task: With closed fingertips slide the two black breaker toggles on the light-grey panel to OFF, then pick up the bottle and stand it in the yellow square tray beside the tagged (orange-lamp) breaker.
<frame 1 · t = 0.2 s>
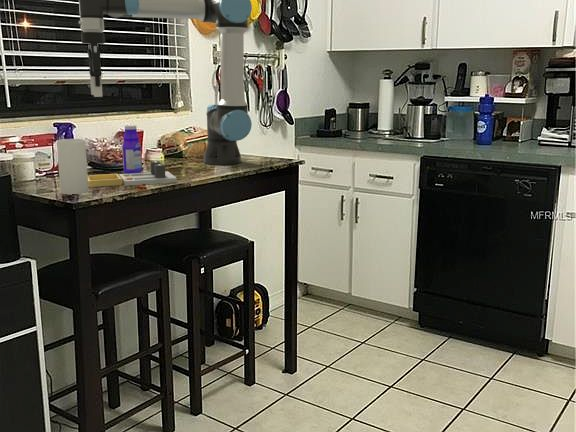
hand: (96, 95, 216), 28 cm above the table, fingers open, 13 cm apart
breaker board: (147, 180, 213), on the table
yellow square tray: (103, 183, 207), on the table
light grey upright block: (74, 192, 193), on the table
breaker 1: (155, 167, 216), point 4 cm above the table, slide at 0.0 cm
bottle: (133, 174, 225), on the table
breaker 2: (159, 170, 210), point 4 cm above the table, slide at 0.0 cm
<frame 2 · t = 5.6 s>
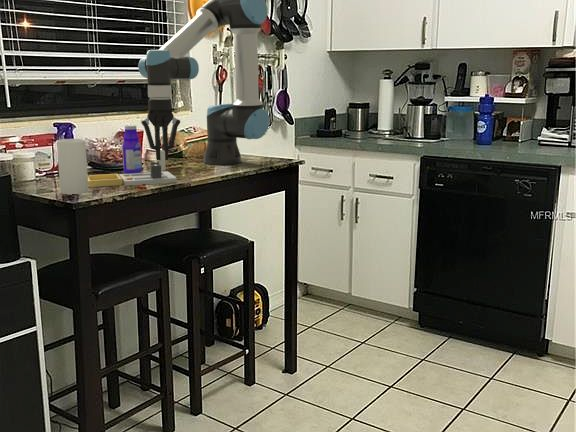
hand: (162, 169, 210), 4 cm above the table, fingers closed
breaker 2: (155, 171, 209), point 4 cm above the table, slide at 1.3 cm, touching gripper
everything else where it was.
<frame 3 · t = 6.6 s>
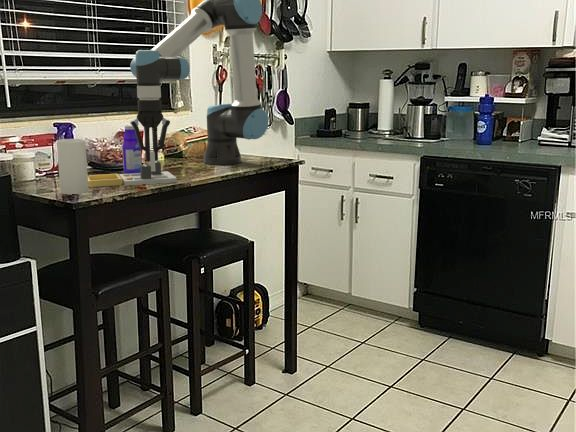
hand: (152, 170, 209), 4 cm above the table, fingers closed
breaker 2: (145, 171, 208), point 4 cm above the table, slide at 4.7 cm, touching gripper
everything else where it was.
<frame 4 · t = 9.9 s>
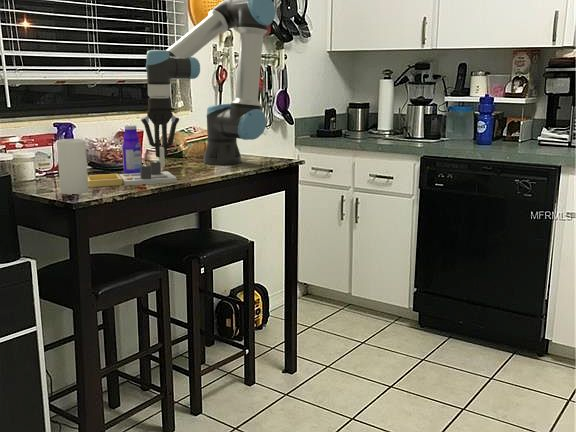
hand: (161, 166, 217), 4 cm above the table, fingers closed
breaker 1: (155, 167, 216), point 4 cm above the table, slide at 0.1 cm, touching gripper
breaker 2: (145, 171, 208), point 4 cm above the table, slide at 4.7 cm
everything else where it was.
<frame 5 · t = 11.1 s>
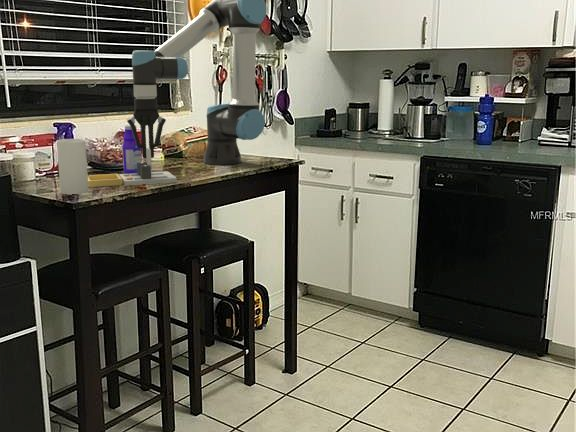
hand: (148, 167, 215), 4 cm above the table, fingers closed
breaker 1: (142, 168, 214), point 4 cm above the table, slide at 4.7 cm, touching gripper
everything else where it was.
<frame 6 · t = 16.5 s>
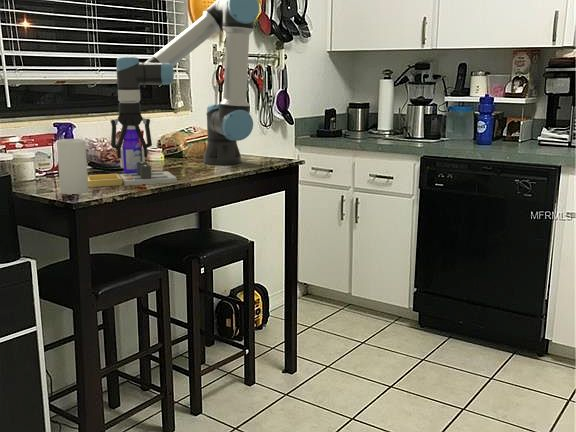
hand: (132, 166, 225), 3 cm above the table, fingers closed on bottle, 7 cm apart
breaker 1: (142, 168, 214), point 4 cm above the table, slide at 4.7 cm
bottle: (133, 174, 225), on the table, touching gripper
everything else where it was.
when the fingers open (4 cm above the table, at t = 23.3 s): bottle drops 1 cm, resting on yellow square tray.
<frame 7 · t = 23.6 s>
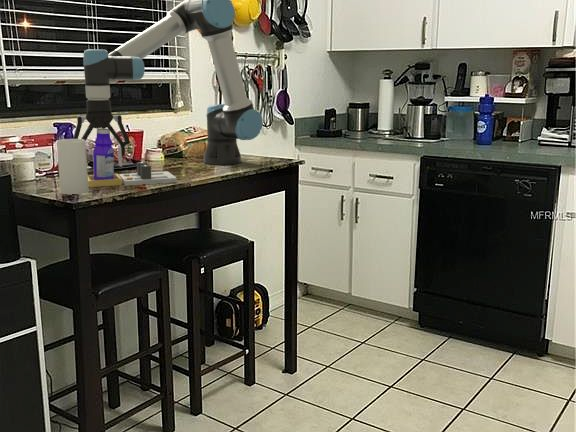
hand: (102, 166, 206), 5 cm above the table, fingers open, 11 cm apart
bottle: (103, 182, 207), resting on yellow square tray
everything else where it was.
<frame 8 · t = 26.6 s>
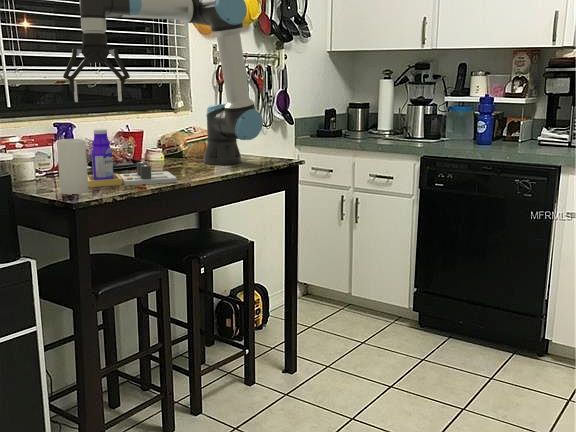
hand: (98, 101, 201), 27 cm above the table, fingers open, 13 cm apart
at the end: breaker 2 slide at 4.7 cm; breaker 1 slide at 4.7 cm; bottle inside the target area on the yellow square tray (0.1 cm from its centre), point 0.2 cm above the yellow square tray's base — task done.
